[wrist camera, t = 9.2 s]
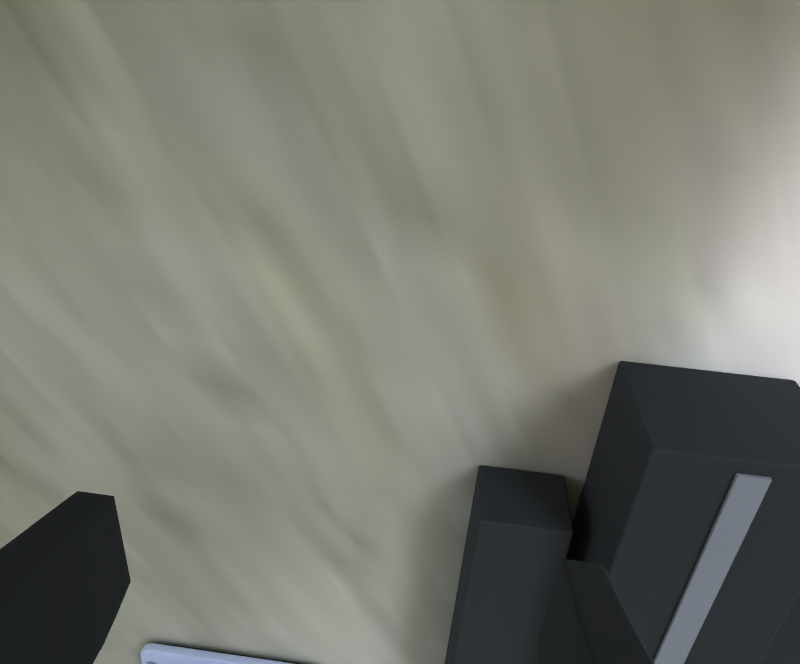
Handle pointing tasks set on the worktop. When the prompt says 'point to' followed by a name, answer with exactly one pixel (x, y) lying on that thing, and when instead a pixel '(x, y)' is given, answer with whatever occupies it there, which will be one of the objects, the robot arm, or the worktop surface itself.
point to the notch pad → (529, 571)
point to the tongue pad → (696, 509)
